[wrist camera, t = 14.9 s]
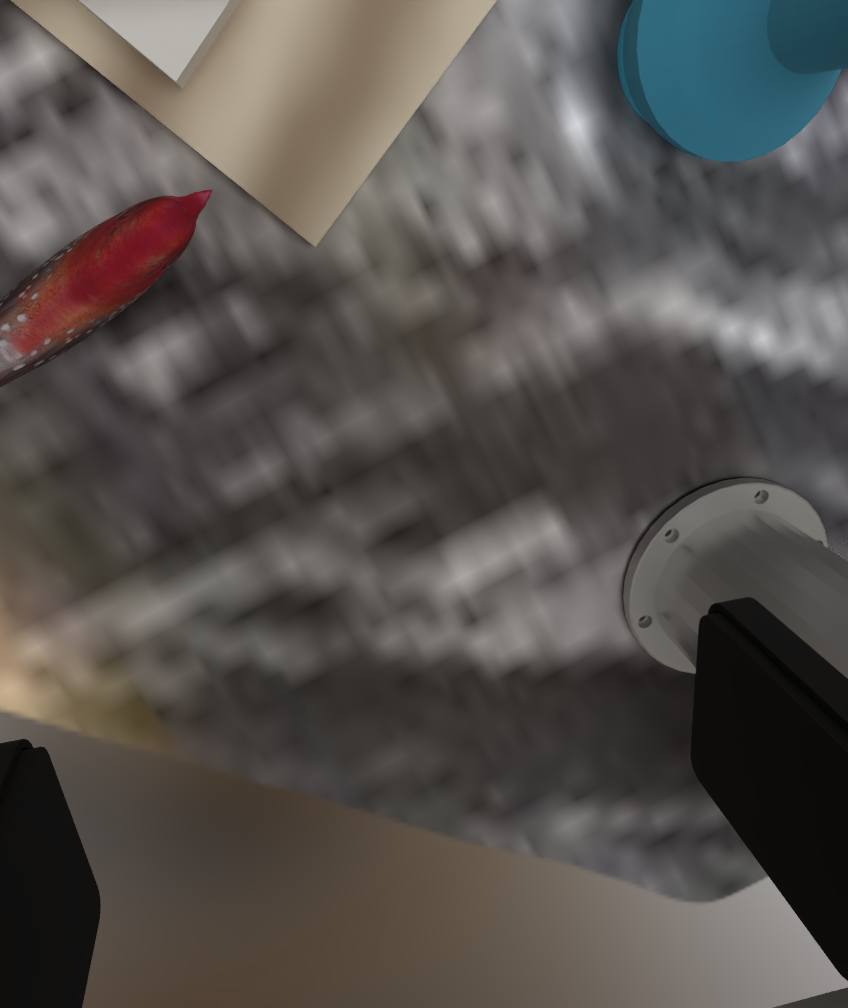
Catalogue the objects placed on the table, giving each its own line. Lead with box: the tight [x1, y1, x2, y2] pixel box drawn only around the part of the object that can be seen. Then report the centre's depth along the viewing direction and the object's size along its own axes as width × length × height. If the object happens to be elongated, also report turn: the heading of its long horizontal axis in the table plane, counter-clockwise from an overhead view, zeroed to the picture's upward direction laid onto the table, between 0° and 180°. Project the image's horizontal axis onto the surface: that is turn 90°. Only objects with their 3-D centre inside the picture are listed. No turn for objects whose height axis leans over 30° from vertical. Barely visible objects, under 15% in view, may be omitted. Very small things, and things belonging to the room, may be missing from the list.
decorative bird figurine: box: [0, 190, 212, 387], centre depth 30 cm, size 3×18×10 cm, turn 124°
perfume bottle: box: [617, 0, 848, 162], centre depth 28 cm, size 9×9×15 cm
